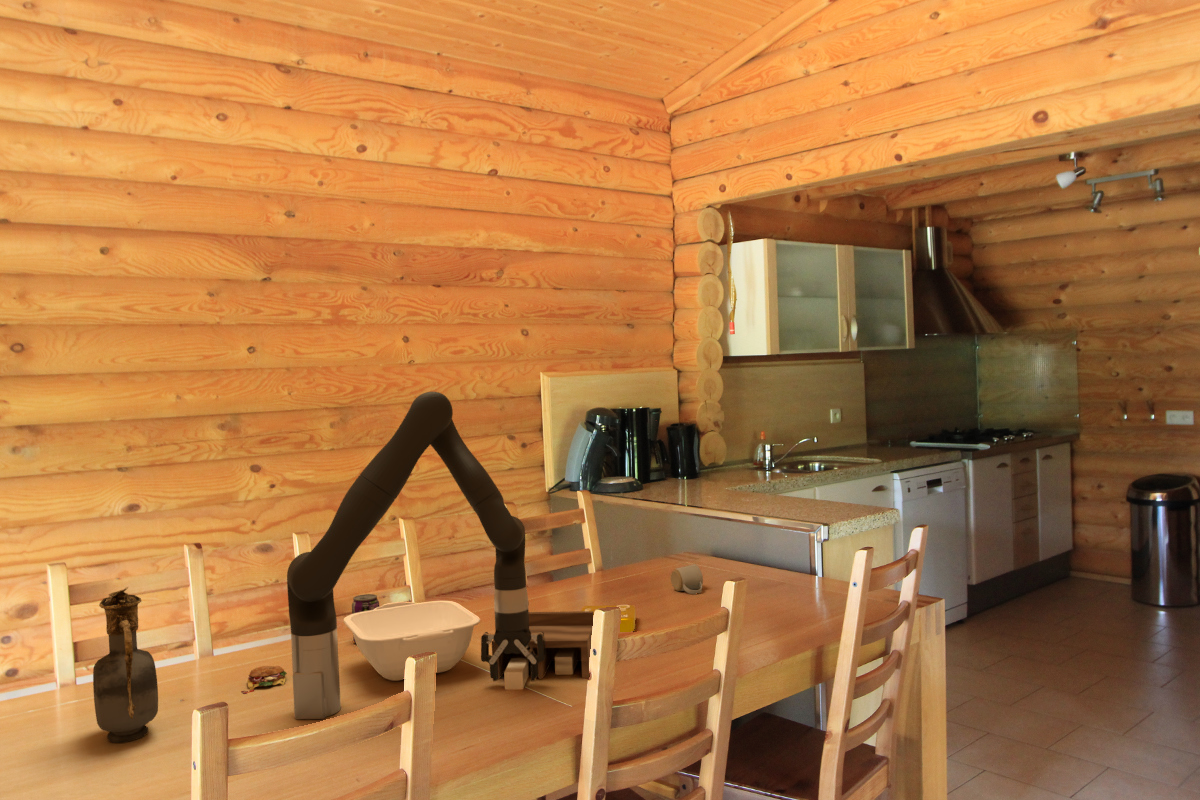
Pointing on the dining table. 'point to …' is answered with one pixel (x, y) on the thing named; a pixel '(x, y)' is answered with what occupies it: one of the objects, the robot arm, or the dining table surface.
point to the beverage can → (364, 603)
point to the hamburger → (265, 677)
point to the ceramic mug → (687, 579)
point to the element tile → (626, 615)
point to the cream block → (516, 673)
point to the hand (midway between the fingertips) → (514, 679)
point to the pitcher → (124, 674)
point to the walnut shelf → (557, 641)
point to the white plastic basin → (412, 634)
